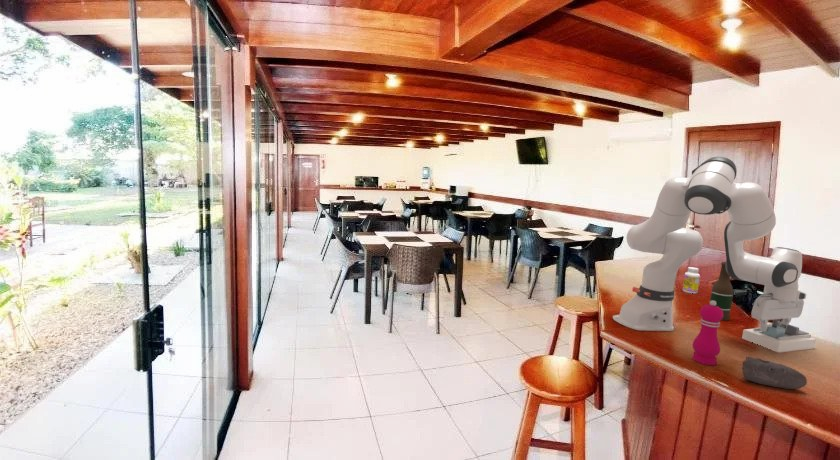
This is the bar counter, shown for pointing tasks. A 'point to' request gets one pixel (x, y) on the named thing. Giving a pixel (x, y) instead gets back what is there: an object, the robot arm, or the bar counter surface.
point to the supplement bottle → (691, 280)
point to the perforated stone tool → (772, 374)
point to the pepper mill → (708, 335)
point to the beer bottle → (723, 292)
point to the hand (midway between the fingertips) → (773, 330)
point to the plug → (774, 330)
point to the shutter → (793, 330)
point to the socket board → (779, 341)
